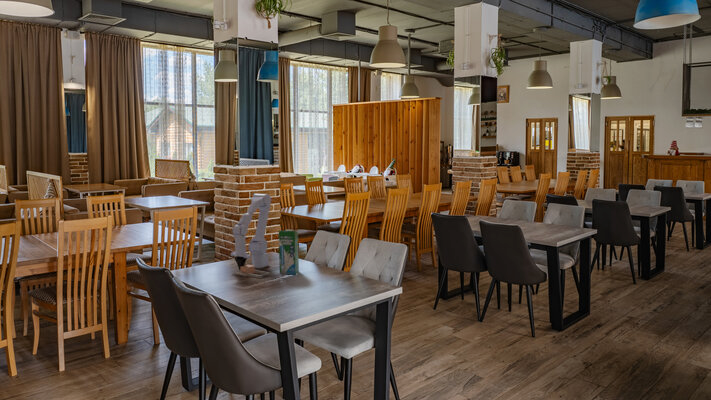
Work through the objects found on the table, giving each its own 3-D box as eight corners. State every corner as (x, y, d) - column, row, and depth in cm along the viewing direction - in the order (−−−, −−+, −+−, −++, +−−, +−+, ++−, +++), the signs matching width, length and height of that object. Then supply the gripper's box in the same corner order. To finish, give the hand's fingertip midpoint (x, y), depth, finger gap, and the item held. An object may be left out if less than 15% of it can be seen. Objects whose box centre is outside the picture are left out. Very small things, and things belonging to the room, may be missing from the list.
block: (248, 271, 303) (248, 264, 303) (254, 272, 300) (254, 265, 300) (240, 273, 298) (240, 266, 298) (246, 275, 295) (246, 267, 295)
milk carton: (298, 271, 308) (297, 228, 305) (295, 275, 299) (294, 230, 296) (283, 271, 309) (282, 228, 306) (279, 274, 300) (278, 230, 297)
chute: (250, 272, 306) (250, 268, 306) (272, 276, 295) (272, 272, 295) (235, 276, 297) (235, 272, 297) (258, 281, 287) (257, 276, 286)
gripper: (226, 245, 302) (227, 269, 303) (243, 248, 293) (244, 273, 295) (236, 243, 307) (236, 267, 309) (253, 246, 299) (254, 270, 300)
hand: (241, 269), depth 302 cm, fingers closed
